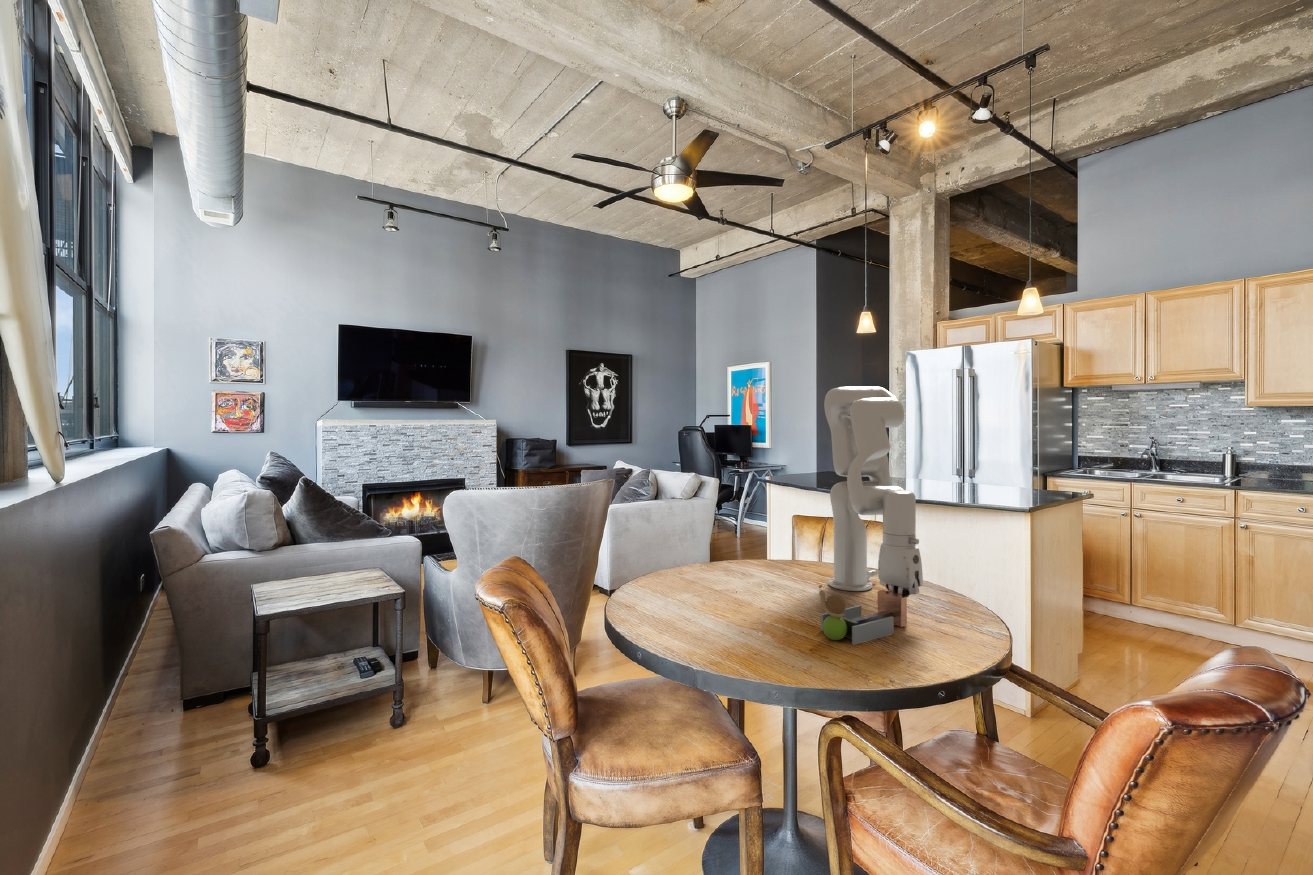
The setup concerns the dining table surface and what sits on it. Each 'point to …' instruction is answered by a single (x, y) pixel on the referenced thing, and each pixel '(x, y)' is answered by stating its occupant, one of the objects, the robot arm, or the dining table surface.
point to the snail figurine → (833, 616)
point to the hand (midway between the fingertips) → (898, 612)
